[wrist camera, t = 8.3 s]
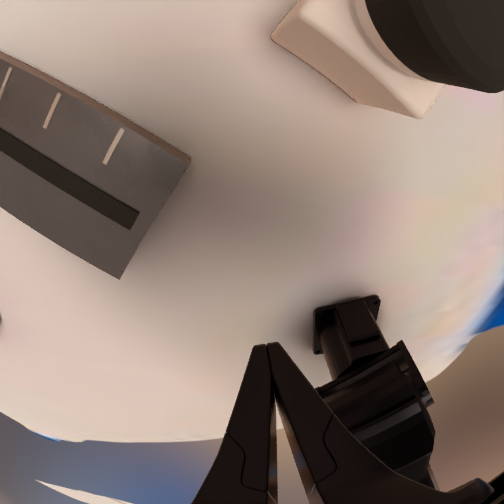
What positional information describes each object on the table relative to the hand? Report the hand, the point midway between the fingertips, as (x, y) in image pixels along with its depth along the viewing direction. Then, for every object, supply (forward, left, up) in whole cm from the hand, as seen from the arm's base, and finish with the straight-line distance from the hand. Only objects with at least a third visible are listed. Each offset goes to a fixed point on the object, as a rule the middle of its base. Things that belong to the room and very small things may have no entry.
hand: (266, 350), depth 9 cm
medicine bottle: (+11, -8, -12) cm, 18 cm away
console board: (+8, +14, -12) cm, 20 cm away
